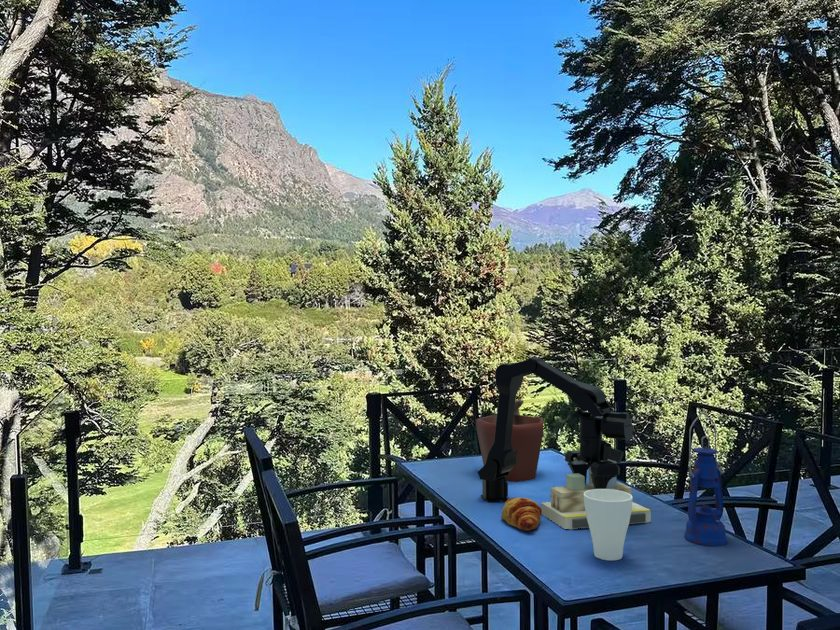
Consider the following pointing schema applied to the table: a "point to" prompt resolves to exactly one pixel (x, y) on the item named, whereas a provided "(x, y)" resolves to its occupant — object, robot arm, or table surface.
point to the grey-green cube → (575, 482)
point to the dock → (580, 519)
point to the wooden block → (575, 497)
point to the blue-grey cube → (612, 483)
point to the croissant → (522, 513)
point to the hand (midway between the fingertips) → (591, 495)
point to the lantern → (705, 519)
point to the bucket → (515, 442)
